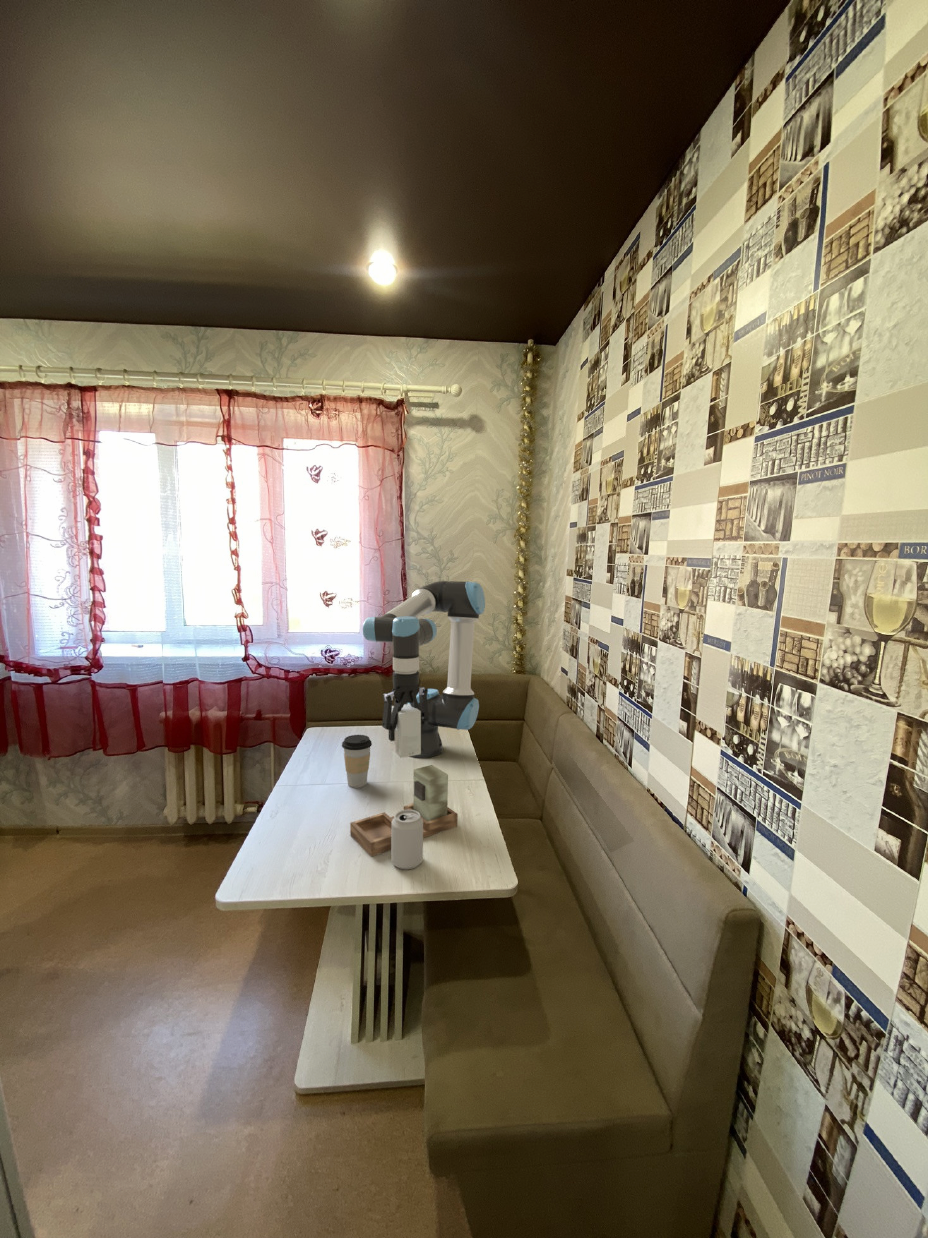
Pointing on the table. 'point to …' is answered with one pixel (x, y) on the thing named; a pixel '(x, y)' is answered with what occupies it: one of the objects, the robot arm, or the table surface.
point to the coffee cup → (357, 759)
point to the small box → (409, 731)
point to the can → (407, 839)
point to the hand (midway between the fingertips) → (406, 748)
